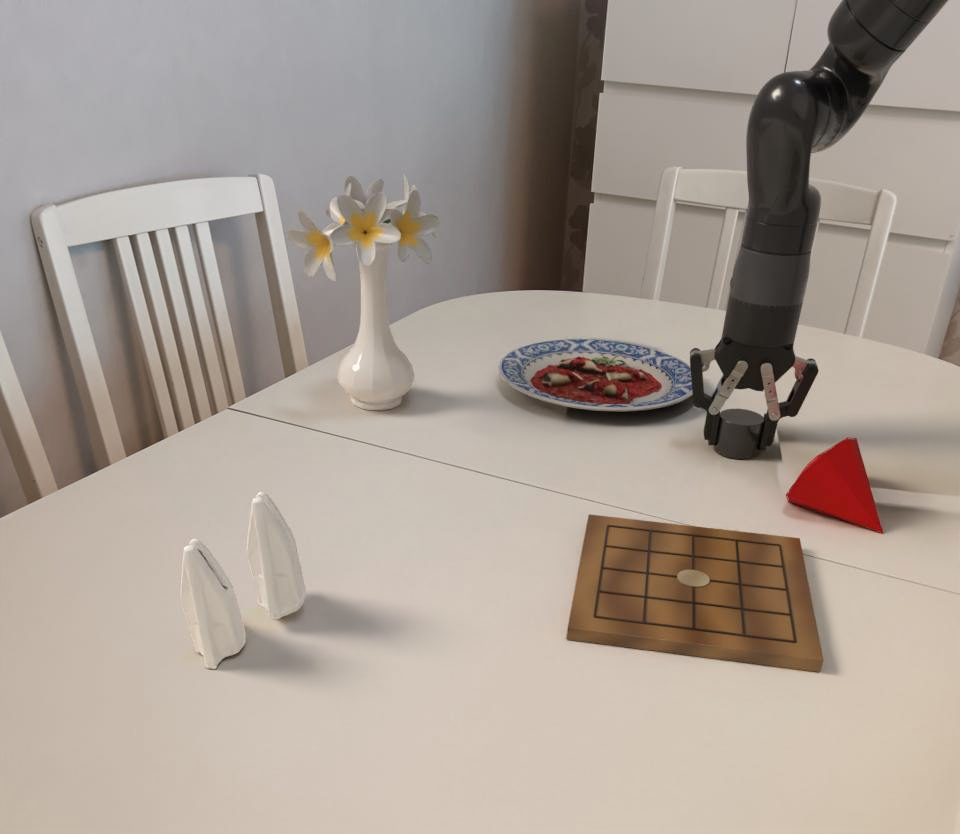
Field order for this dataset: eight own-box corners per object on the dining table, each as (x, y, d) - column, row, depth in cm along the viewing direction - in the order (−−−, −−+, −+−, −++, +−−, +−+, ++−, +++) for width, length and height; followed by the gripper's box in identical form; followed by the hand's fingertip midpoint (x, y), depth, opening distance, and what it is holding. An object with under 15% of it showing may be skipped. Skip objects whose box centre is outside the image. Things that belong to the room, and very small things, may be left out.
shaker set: (289, 588, 83) (278, 469, 77) (324, 605, 81) (316, 485, 75) (176, 651, 75) (154, 524, 69) (212, 671, 73) (193, 543, 67)
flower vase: (285, 416, 114) (266, 185, 100) (375, 371, 127) (369, 162, 113) (377, 441, 109) (370, 202, 95) (460, 392, 122) (465, 176, 108)
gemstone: (924, 505, 97) (855, 436, 100) (916, 497, 90) (841, 423, 93) (854, 566, 101) (788, 498, 104) (841, 563, 93) (770, 489, 96)
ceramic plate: (648, 444, 111) (652, 419, 109) (459, 394, 122) (460, 371, 120) (725, 380, 129) (730, 358, 128) (555, 342, 140) (557, 321, 138)
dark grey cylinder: (756, 443, 112) (763, 410, 110) (758, 461, 108) (766, 427, 106) (712, 439, 113) (718, 406, 110) (713, 456, 109) (719, 423, 106)
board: (797, 549, 92) (800, 536, 91) (820, 672, 76) (824, 658, 75) (587, 525, 94) (588, 512, 94) (566, 639, 78) (567, 626, 77)
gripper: (697, 296, 98) (672, 452, 108) (842, 308, 96) (804, 466, 106) (696, 277, 104) (673, 426, 114) (833, 288, 102) (798, 439, 112)
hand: (736, 445), depth 110 cm, fingers closed on dark grey cylinder, 5 cm apart
